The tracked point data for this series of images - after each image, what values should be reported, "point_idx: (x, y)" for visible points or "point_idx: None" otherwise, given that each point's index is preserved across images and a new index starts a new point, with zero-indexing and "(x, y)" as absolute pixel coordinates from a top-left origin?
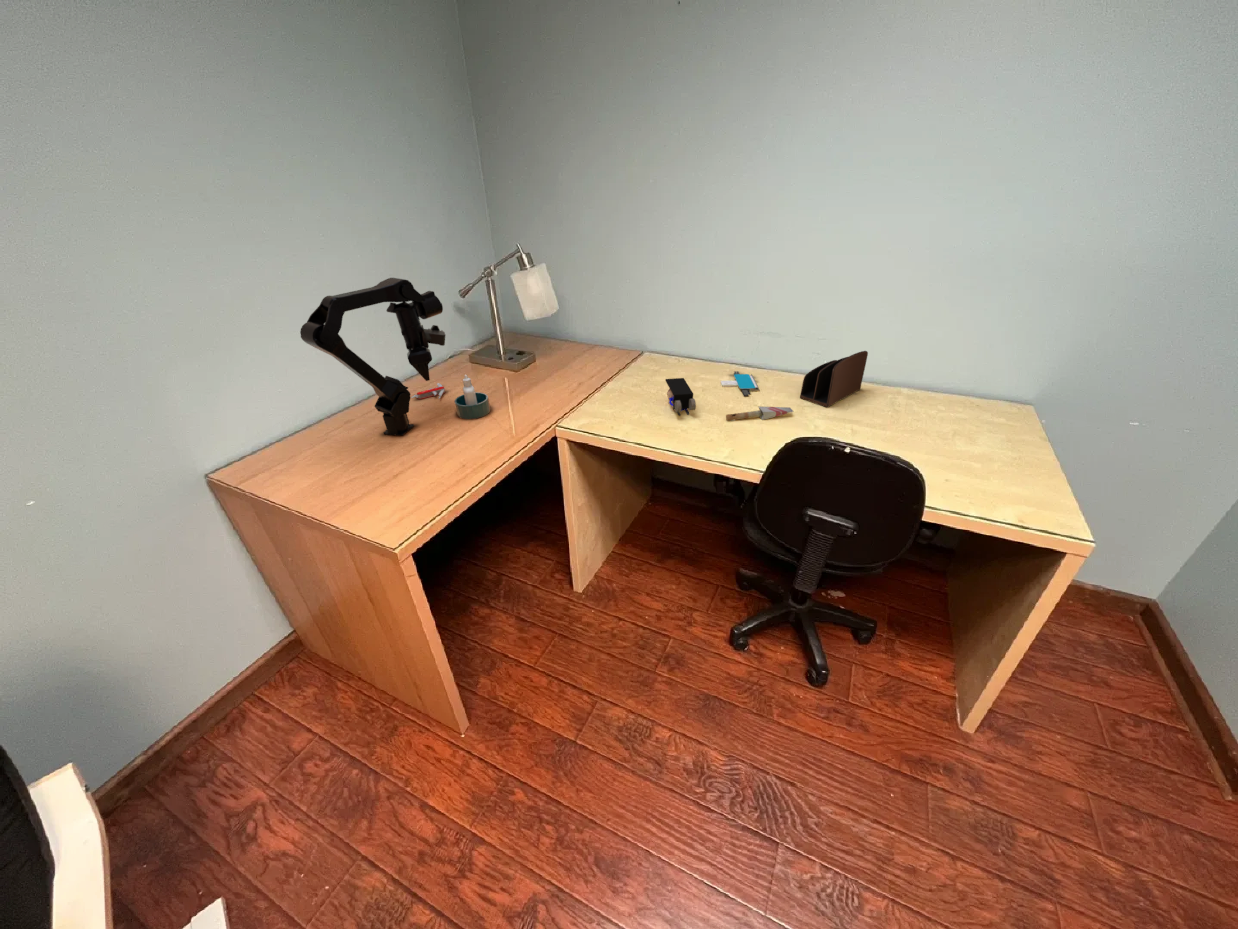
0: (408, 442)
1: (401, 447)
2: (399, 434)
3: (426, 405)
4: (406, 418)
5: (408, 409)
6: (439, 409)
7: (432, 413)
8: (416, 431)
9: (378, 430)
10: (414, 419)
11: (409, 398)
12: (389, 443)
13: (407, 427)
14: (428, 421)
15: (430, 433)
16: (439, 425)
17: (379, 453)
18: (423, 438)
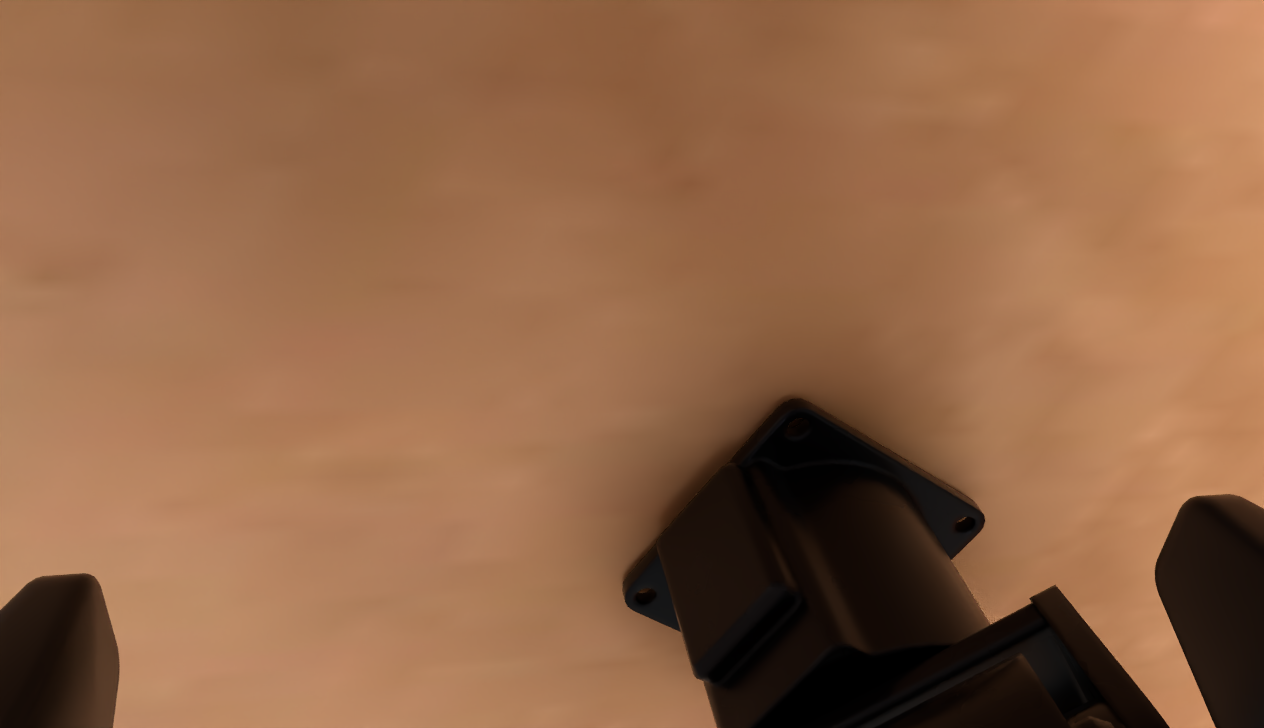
0: (1164, 445)
1: None
2: (965, 544)
3: (61, 217)
4: (807, 533)
5: (1069, 607)
6: (340, 10)
7: (466, 142)
8: (951, 369)
9: (665, 722)
10: (564, 392)
11: (1150, 702)
12: None
13: (884, 482)
14: (740, 216)
15: (1128, 210)
16: (973, 72)
17: (1180, 662)
18: (1194, 295)
